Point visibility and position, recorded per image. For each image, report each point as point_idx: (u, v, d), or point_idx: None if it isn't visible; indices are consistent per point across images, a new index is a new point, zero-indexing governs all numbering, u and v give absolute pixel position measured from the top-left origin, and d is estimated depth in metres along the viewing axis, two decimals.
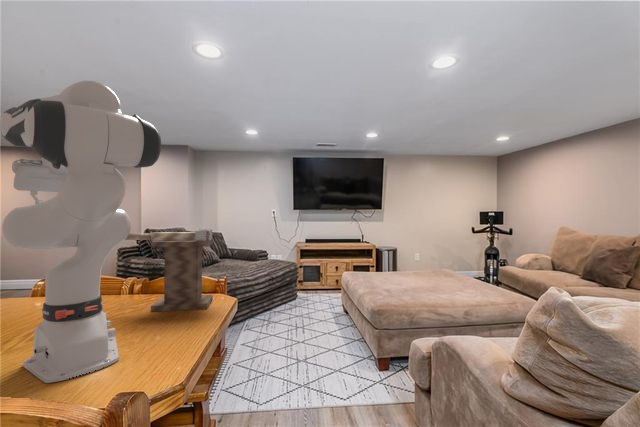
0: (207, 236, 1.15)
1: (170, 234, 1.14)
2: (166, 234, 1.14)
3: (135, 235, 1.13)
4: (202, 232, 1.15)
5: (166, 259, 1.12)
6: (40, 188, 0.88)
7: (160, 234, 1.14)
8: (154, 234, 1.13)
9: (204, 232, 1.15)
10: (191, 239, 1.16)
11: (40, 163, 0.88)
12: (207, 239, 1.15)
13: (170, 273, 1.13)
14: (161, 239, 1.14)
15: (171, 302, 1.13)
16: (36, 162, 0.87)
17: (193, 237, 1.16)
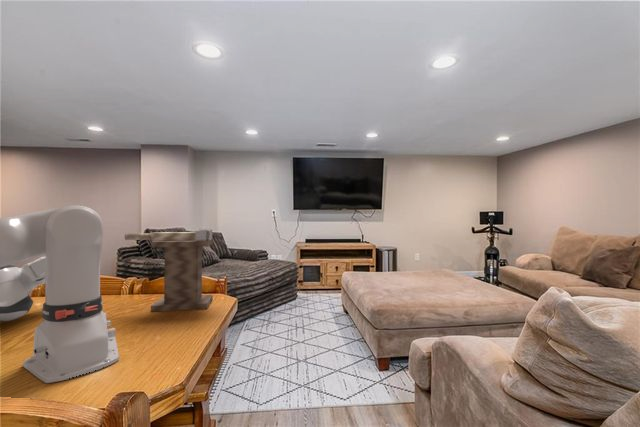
0: (207, 236, 1.15)
1: (170, 234, 1.14)
2: (166, 234, 1.14)
3: (135, 235, 1.13)
4: (202, 232, 1.15)
5: (166, 259, 1.12)
6: None
7: (160, 234, 1.14)
8: (154, 234, 1.13)
9: (204, 232, 1.15)
10: (191, 239, 1.16)
11: None
12: (207, 239, 1.15)
13: (170, 273, 1.13)
14: (161, 239, 1.14)
15: (171, 302, 1.13)
16: None
17: (193, 237, 1.16)
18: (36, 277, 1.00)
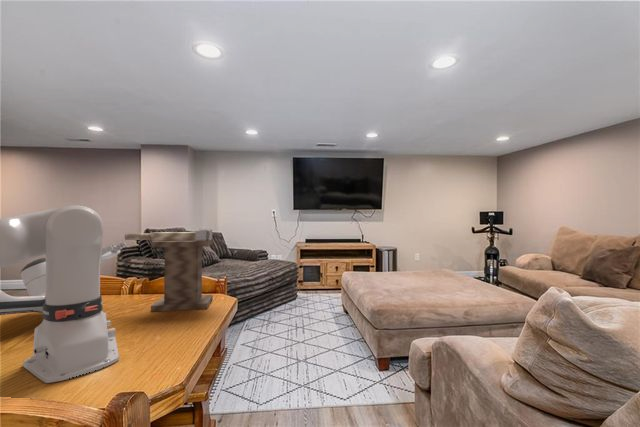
0: (207, 236, 1.15)
1: (170, 234, 1.14)
2: (166, 234, 1.14)
3: (135, 235, 1.13)
4: (202, 232, 1.15)
5: (166, 259, 1.12)
6: (113, 255, 1.17)
7: (160, 234, 1.14)
8: (154, 234, 1.13)
9: (204, 232, 1.15)
10: (191, 239, 1.16)
11: None
12: (207, 239, 1.15)
13: (170, 273, 1.13)
14: (161, 239, 1.14)
15: (171, 302, 1.13)
16: None
17: (193, 237, 1.16)
18: None
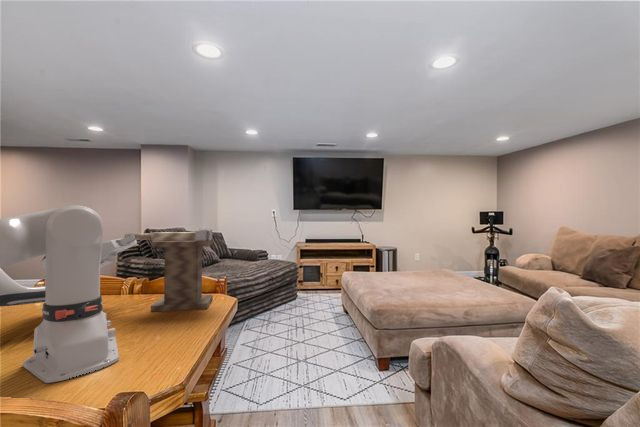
0: (207, 236, 1.15)
1: (170, 234, 1.14)
2: (166, 234, 1.14)
3: (135, 235, 1.13)
4: (202, 232, 1.15)
5: (166, 259, 1.12)
6: (131, 245, 1.18)
7: (160, 234, 1.14)
8: (154, 234, 1.13)
9: (204, 232, 1.15)
10: (191, 239, 1.16)
11: None
12: (207, 239, 1.15)
13: (170, 273, 1.13)
14: (161, 239, 1.14)
15: (171, 302, 1.13)
16: None
17: (193, 237, 1.16)
18: None
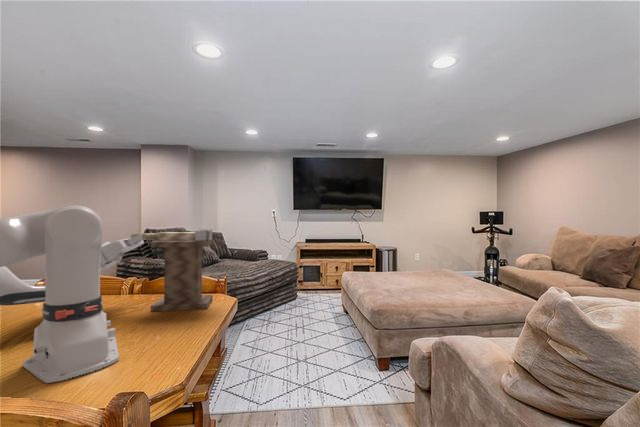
0: (207, 236, 1.15)
1: (176, 234, 1.15)
2: (172, 234, 1.15)
3: None
4: (202, 232, 1.15)
5: (166, 259, 1.12)
6: (138, 245, 1.18)
7: (166, 234, 1.14)
8: (160, 234, 1.14)
9: (204, 232, 1.15)
10: None
11: None
12: (207, 239, 1.15)
13: (170, 273, 1.13)
14: (167, 239, 1.14)
15: (171, 302, 1.13)
16: None
17: None
18: (106, 260, 1.05)
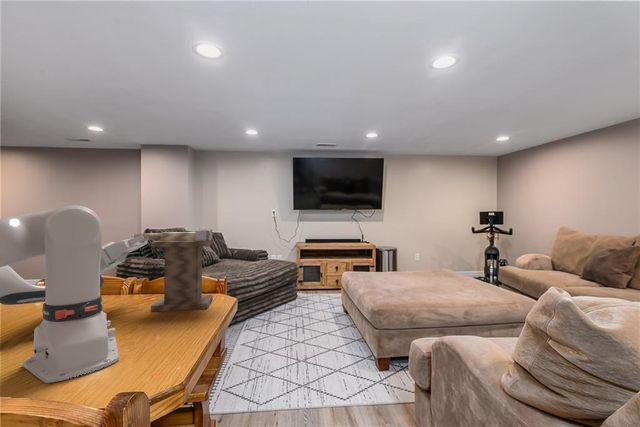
0: (207, 236, 1.15)
1: (179, 234, 1.15)
2: (175, 234, 1.15)
3: (145, 235, 1.13)
4: (202, 232, 1.15)
5: (166, 259, 1.12)
6: (141, 245, 1.18)
7: (169, 234, 1.14)
8: (164, 234, 1.14)
9: (204, 232, 1.15)
10: None
11: None
12: (207, 239, 1.15)
13: (170, 273, 1.13)
14: (171, 239, 1.14)
15: (171, 302, 1.13)
16: None
17: None
18: (110, 260, 1.05)
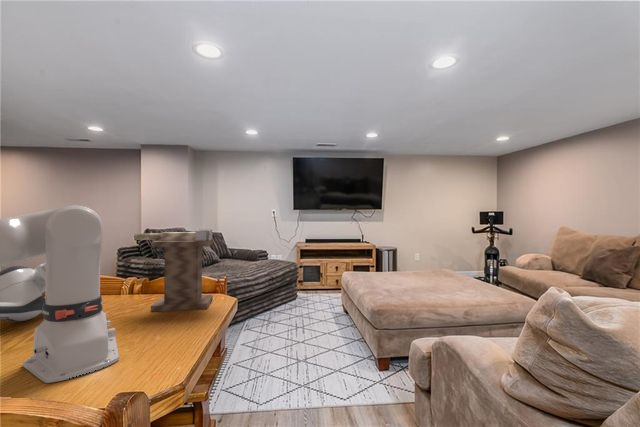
0: (207, 236, 1.15)
1: (179, 234, 1.15)
2: (175, 234, 1.15)
3: (145, 235, 1.13)
4: (202, 232, 1.15)
5: (166, 259, 1.12)
6: None
7: (169, 234, 1.14)
8: (164, 234, 1.14)
9: (204, 232, 1.15)
10: None
11: None
12: (207, 239, 1.15)
13: (170, 273, 1.13)
14: (171, 239, 1.14)
15: (171, 302, 1.13)
16: None
17: None
18: None
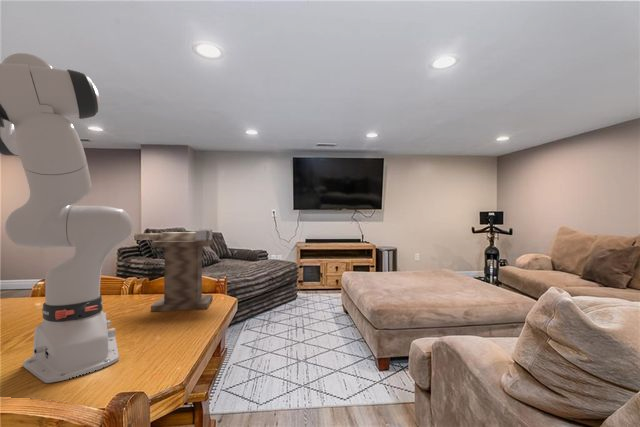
0: (207, 236, 1.15)
1: (179, 234, 1.15)
2: (175, 234, 1.15)
3: (145, 235, 1.13)
4: (202, 232, 1.15)
5: (166, 259, 1.12)
6: None
7: (169, 234, 1.14)
8: (164, 234, 1.14)
9: (204, 232, 1.15)
10: None
11: None
12: (207, 239, 1.15)
13: (170, 273, 1.13)
14: (171, 239, 1.14)
15: (171, 302, 1.13)
16: None
17: None
18: None
